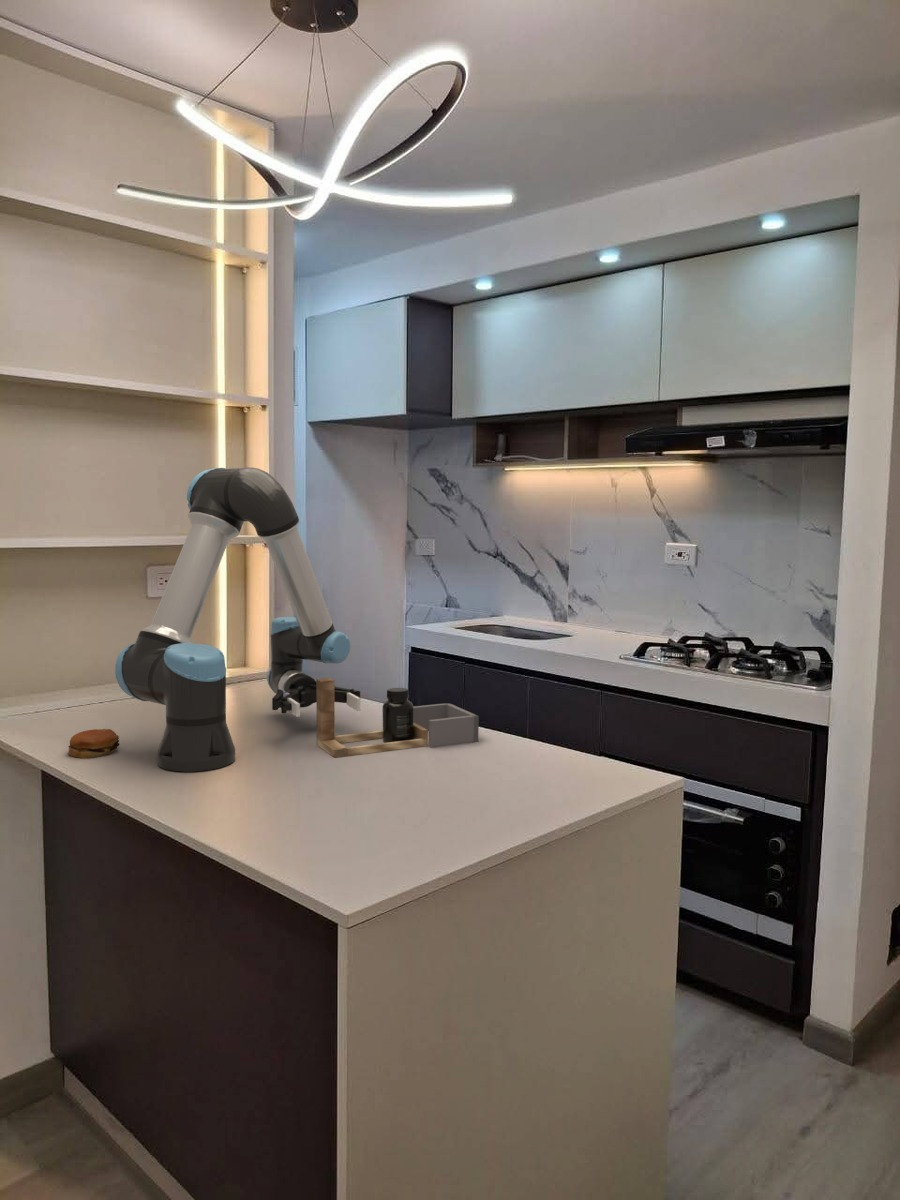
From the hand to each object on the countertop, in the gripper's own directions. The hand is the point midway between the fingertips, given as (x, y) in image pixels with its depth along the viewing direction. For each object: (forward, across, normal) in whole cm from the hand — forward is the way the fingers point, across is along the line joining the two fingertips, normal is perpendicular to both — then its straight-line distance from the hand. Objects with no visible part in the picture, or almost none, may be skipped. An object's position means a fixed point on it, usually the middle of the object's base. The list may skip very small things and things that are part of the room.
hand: (329, 707), depth 189 cm
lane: (+1, -26, -9) cm, 27 cm away
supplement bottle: (+1, -15, -9) cm, 18 cm away
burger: (-18, +45, -10) cm, 50 cm away
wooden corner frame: (+2, -9, -9) cm, 13 cm away
